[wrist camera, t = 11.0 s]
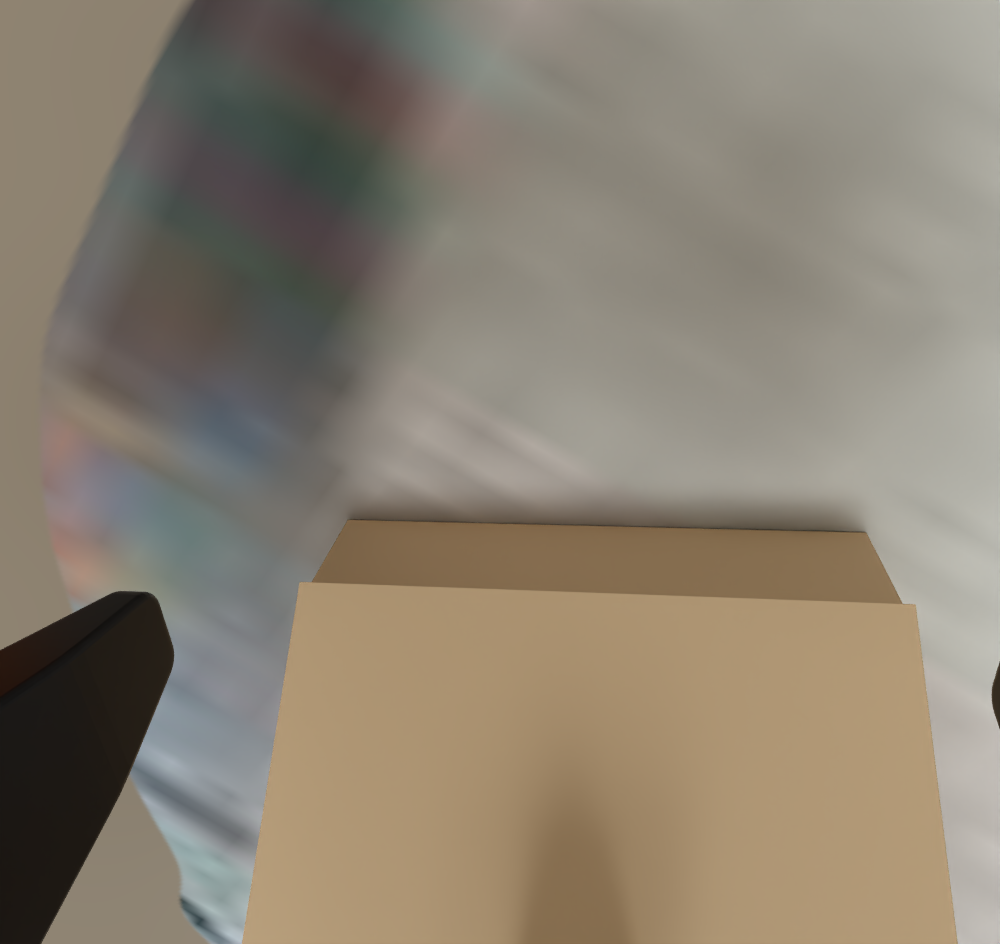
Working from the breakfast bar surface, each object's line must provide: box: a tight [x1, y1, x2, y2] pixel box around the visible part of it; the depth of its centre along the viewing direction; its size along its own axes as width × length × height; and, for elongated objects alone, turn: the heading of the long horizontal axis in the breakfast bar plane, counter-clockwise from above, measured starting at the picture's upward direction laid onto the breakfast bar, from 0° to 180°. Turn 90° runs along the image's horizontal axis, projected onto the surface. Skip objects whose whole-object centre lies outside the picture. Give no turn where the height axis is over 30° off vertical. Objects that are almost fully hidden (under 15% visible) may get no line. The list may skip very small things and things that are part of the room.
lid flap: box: [242, 582, 958, 944], centre depth 16 cm, size 12×15×5 cm
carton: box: [312, 520, 903, 604], centre depth 24 cm, size 12×15×4 cm
